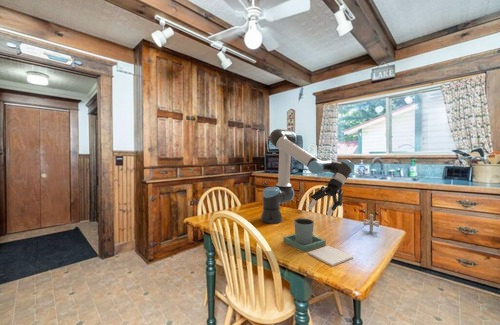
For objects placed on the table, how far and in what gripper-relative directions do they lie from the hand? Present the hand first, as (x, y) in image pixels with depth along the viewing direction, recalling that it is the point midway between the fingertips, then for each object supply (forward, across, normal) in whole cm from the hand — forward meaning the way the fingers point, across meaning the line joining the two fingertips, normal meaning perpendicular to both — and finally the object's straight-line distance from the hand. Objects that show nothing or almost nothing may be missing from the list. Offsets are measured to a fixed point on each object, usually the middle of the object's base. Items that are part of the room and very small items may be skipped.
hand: (318, 211), depth 123 cm
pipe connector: (-15, -8, -37) cm, 40 cm away
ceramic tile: (+18, -17, -3) cm, 25 cm away
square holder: (+18, 0, -3) cm, 19 cm away
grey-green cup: (+18, 0, -4) cm, 19 cm away
